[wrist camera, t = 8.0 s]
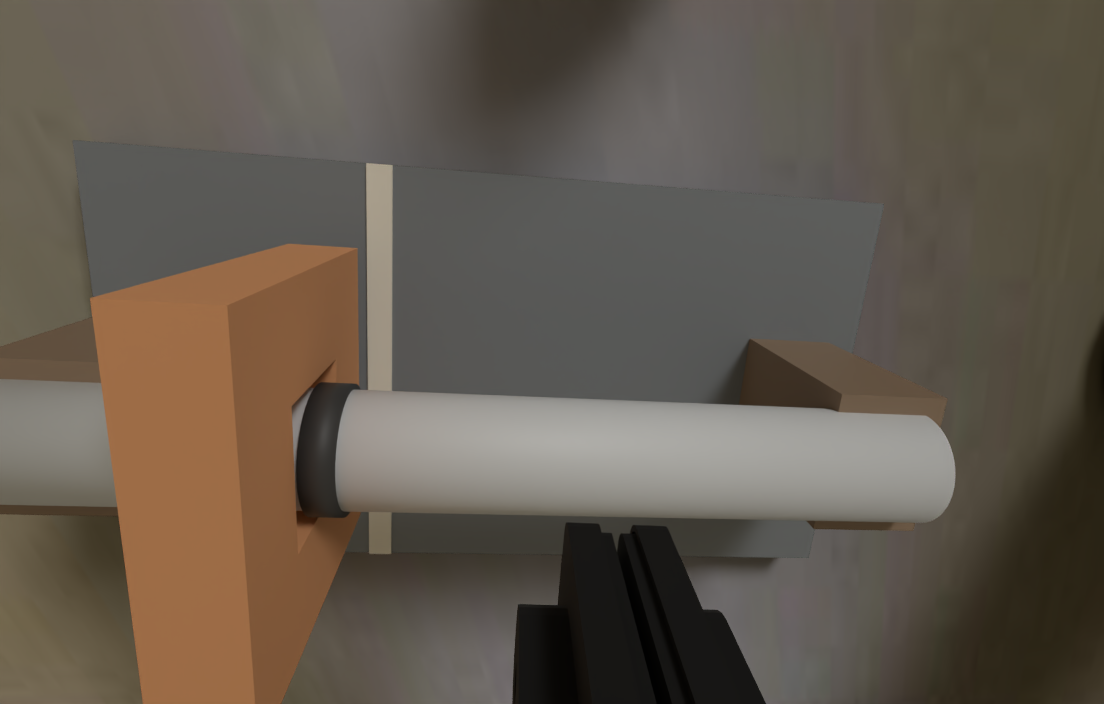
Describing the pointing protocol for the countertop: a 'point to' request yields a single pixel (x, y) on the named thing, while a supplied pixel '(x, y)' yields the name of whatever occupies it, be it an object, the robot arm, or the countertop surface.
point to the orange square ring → (223, 464)
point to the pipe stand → (520, 356)
